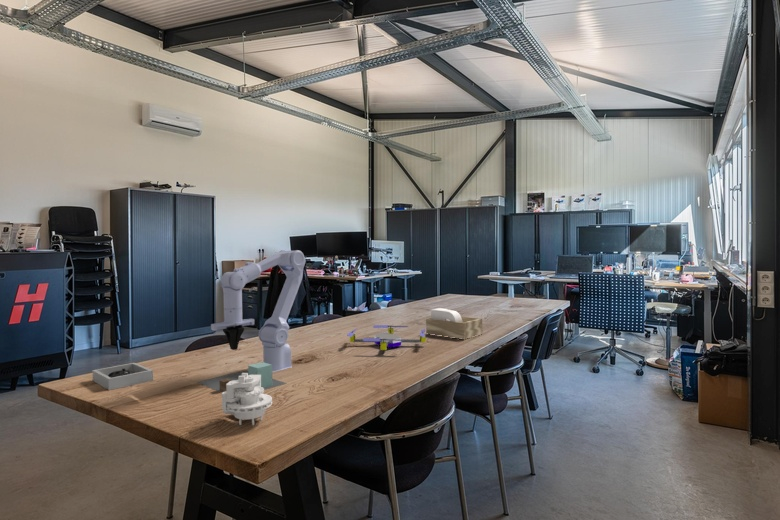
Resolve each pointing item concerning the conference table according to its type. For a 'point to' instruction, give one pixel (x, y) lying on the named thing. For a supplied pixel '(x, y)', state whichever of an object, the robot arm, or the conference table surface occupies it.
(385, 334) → the quadcopter drone
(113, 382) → the gray hollow frame
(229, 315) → the robot arm
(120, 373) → the game controller
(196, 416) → the conference table surface
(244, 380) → the mechanical part
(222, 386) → the brown cube
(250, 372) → the pale aqua cube
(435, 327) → the plywood crate
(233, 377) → the mat
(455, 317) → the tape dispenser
